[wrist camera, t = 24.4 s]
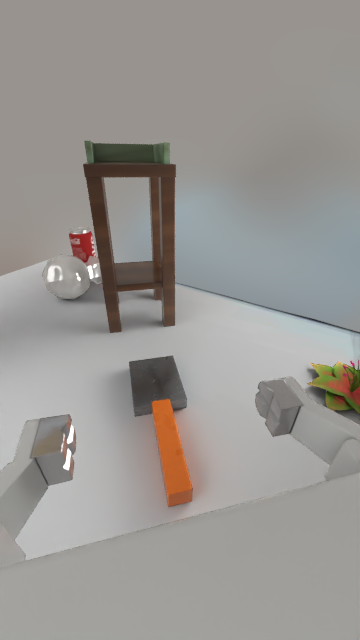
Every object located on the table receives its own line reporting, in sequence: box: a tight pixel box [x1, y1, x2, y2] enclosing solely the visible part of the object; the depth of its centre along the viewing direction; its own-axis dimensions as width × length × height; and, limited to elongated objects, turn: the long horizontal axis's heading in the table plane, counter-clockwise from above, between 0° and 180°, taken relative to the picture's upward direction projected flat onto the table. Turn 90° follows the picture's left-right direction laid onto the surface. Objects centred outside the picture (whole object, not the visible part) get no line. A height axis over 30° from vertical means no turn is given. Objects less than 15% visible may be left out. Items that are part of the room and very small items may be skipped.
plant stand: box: [83, 141, 176, 333], centre depth 46 cm, size 13×12×28 cm
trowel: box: [129, 356, 193, 507], centre depth 32 cm, size 19×6×2 cm, turn 13°
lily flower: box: [308, 360, 360, 414], centre depth 35 cm, size 12×12×5 cm
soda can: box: [69, 227, 96, 263], centre depth 66 cm, size 5×5×12 cm
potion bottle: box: [42, 254, 102, 299], centre depth 59 cm, size 9×10×15 cm
